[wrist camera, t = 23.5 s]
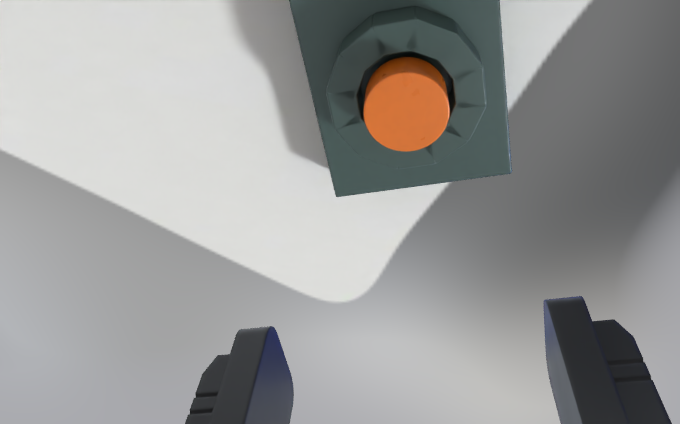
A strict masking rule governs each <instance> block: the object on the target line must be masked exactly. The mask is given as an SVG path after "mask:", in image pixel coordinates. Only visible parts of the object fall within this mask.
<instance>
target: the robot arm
mask: <svg viewBox="0 0 680 424" xmlns="http://www.w3.org/2000/svg"><path fill="white" fill-rule="evenodd" d="M544 324H545V345H546V360H547V368H548V373H549V379H550V384H551V387H552V391H553V395H554V399H555V403H556V407H557V410H558V415H559V418H560V422H561V424H672V423H671V421H670V419H669V416H668V414H667V412H666V410H665V407H664V405H663V403H662V401H661V398H660V396H659V394H658V392H657V389H656V387H655V385H654V382H653V380H651V376H650V374H649V371H648V369H647V366H646V364H645V363H644V362H643V357H642V355H641V353H640V351H639V348H638V346H637V344H636V341H635V339H634V337H633V336H632V335H631V334H630V333H629V332H627V331H626V330H625V329H624V328H623V327H622V326H621V325H620V324H619V323H617V322H616V321H615V320H603V321H592V319H591V317H590V314H589V312H588V309H587V306H586V304H585V301H584V299H583V297H582V296H579V297H569V298H559V299H549V300H544ZM293 396H294V394H293V382H292V377H291V373H290V370H289V367H288V364H287V361H286V358H285V356H284V352H283V349H282V347H281V344H280V340H279V338H278V335H277V332H276V330H275V328H274V327H272V326H270V327H260V328H250V329H241V330H239V331H238V332H237V334H236V337H235V340H234V344H233V347H232V350H231V353H230V354H228V355H218V356H217V357H216V358H215V359H214V361H213V362H212V363H211V364H210V365H209V367H208V368H207V369H206V371H205V372H204V373H203V374H202V377H201V380H200V383H199V386H198V388H197V391H196V398H194V400H193V403H192V405H191V408H190V415H188V417H187V420H186V423H185V424H289V423H290V418H291V412H292V407H293Z"/></svg>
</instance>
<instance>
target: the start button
mask: <svg viewBox="0 0 680 424" xmlns="http://www.w3.org/2000/svg"><path fill="white" fill-rule="evenodd" d="M449 114H450V107H449V100H448V94H447V88H446V84H445V81H444V79H443V77H442V75H441V74H440V72H439V71H438V70H437V69H436V68H435V67H434V66H433V65H431V64H430V63H428V62H427V61H424V60H422V59H419V58H414V57H400V58H395V59H392V60H390V61H388V62H386V63H384V64H383V65H381V66H380V67H379V68H378V69H377V70H376V71H375V72H374V73H373V74H372V76H371V77H370V79H369V81H368V84H367V87H366V93H365V101H364V112H363V115H364V121H365V125H366V127H367V129H368V131H369V133H370V134H371V135H372V137H373V138H374V139H375V140H376V141H377V142H379V143H380V144H382V145H383V146H385V147H387V148H390V149H392V150H396V151H406V152H407V151H415V150H419V149H422V148H424V147H427V146H428V145H430V144H432V143H433V142H434V141H436V140H437V139H438V138H439V137H440V136H441V134H442V133H443V131H444V130H445V128H446V126H447V123H448V120H449Z"/></svg>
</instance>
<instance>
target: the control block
mask: <svg viewBox="0 0 680 424" xmlns="http://www.w3.org/2000/svg"><path fill="white" fill-rule="evenodd" d="M289 2H290V6H291V11H292V15H293V19H294V23H295V27H296V31H297V36H298V40H299V44H300V48H301V52H302V56H303V61H304V65H305V69H306V73H307V77H308V82H309V86H310V90H311V94H312V98H313V102H314V107H315V111H316V115H317V119H318V123H319V128H320V132H321V136H322V140H323V144H324V148H325V153H326V157H327V161H328V165H329V169H330V173H331V178H332V182H333V186H334V190H335V194H336V197H341V196H348V195H356V194H363V193H371V192H378V191H385V190H393V189H400V188H408V187H415V186H422V185H430V184H437V183H445V182H452V181H459V180H467V179H474V178H482V177H488V176H496V175H503V174H510V173H511V172H512V168H511V155H510V141H509V126H508V112H507V98H506V85H505V71H504V57H503V43H502V29H501V15H500V2H499V0H289ZM400 57H414V58H419V59H422V60H424V61H427V62H428V63H430V64H431V65H433V66H434V67H435V68H436V69H437V70H438V71H439V72H440V74H441V75H442V77H443V79H444V81H445V84H446V88H447V94H448V100H449V107H450V114H449V120H448V123H447V126H446V128H445V130H444V131H443V133H442V134H441V136H440V137H439V138H438V139H437V140H436V141H434V142H433V143H432V144H430V145H428V146H427V147H424V148H422V149H419V150H415V151H407V152H406V151H396V150H392V149H390V148H387V147H385V146H383V145H382V144H380V143H379V142H377V141H376V140H375V139H374V138H373V137H372V135H371V134H370V133H369V131H368V129H367V127H366V125H365V121H364V115H363V112H364V101H365V93H366V87H367V84H368V81H369V79H370V77H371V76H372V74H373V73H374V72H375V71H376V70H377V69H378V68H379V67H380V66H381V65H383V64H384V63H386V62H388V61H390V60H392V59H395V58H400Z"/></svg>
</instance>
